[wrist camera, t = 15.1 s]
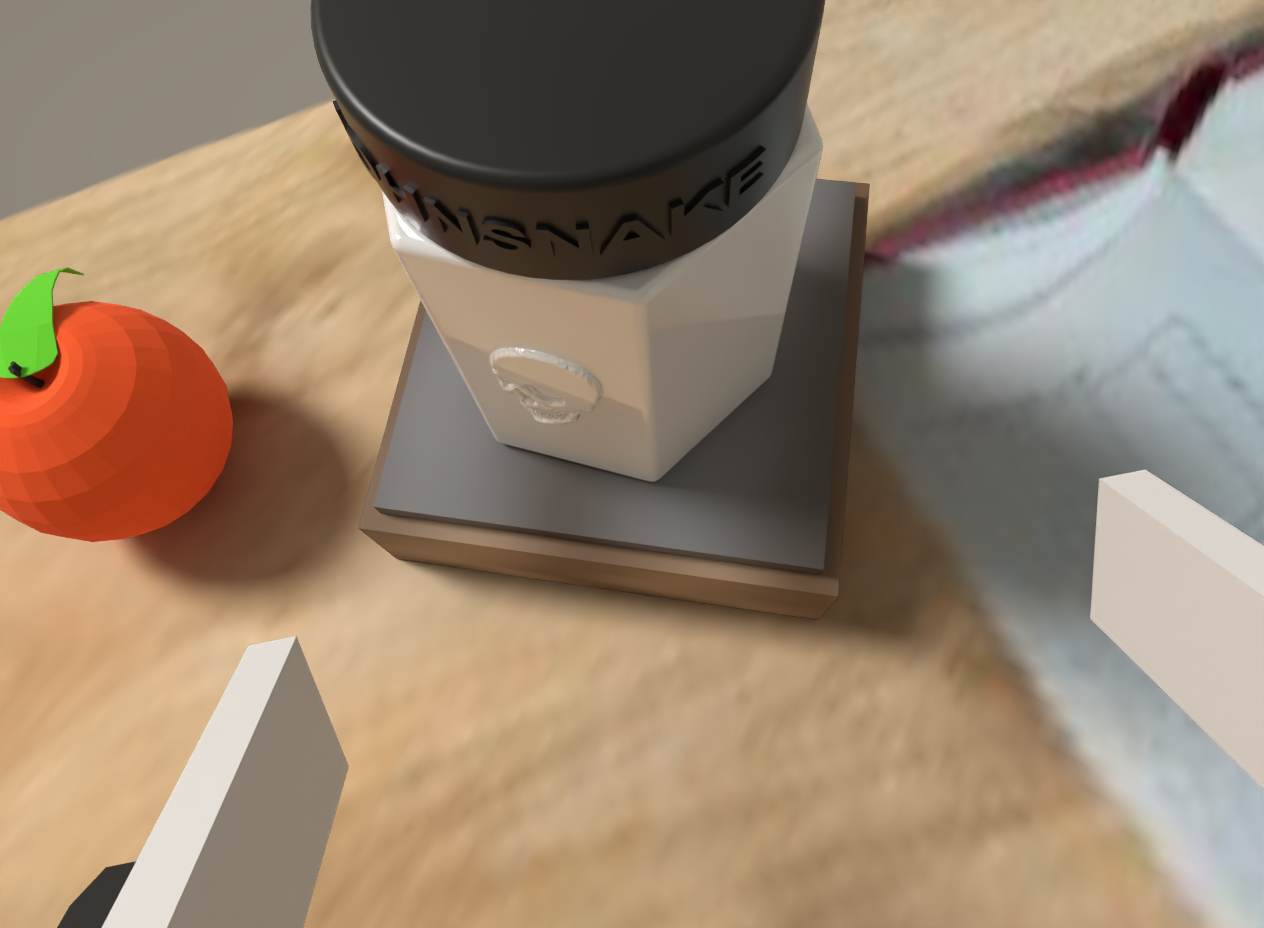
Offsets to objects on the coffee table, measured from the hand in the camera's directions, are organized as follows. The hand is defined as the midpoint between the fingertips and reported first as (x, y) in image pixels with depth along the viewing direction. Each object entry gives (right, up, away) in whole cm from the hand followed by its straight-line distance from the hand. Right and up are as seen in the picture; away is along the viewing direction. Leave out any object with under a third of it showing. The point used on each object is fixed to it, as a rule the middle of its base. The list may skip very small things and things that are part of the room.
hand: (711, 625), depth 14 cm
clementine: (-17, +3, +15) cm, 22 cm away
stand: (-1, +5, +14) cm, 15 cm away
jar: (-2, +6, +11) cm, 12 cm away
